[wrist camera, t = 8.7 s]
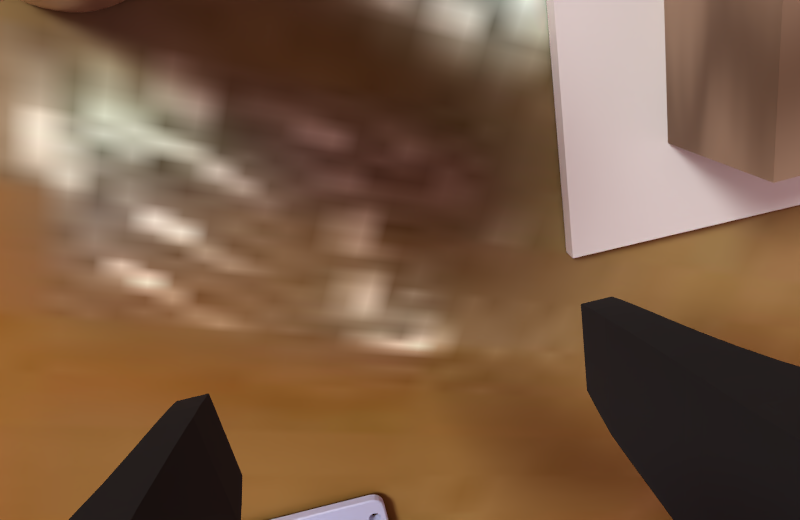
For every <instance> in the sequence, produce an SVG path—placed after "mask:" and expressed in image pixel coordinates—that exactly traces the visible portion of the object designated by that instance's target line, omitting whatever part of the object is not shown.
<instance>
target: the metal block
mask: <svg viewBox="0 0 800 520" xmlns="http://www.w3.org/2000/svg"><path fill="white" fill-rule="evenodd" d="M664 19H665V56H666V92H667V128H668V143H669V144H671V145H674V146H677V147H679V148H682V149H685V150H687V151H690V152H693V153H695V154H698V155H701V156H703V157H706V158H709V159H711V160H714V161H717V162H719V163H722V164H725V165H727V166H730V167H733V168H735V169H738V170H741V171H743V172H746V173H748V174H751V175H754V176H756V177H759V178H762V179H764V180H767V181H770V182H772V183H775V182H778V181H782V180H786V179H790V178H794V177H797V176H800V0H664Z"/></svg>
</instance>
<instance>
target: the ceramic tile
mask: <svg viewBox="0 0 800 520" xmlns="http://www.w3.org/2000/svg"><path fill="white" fill-rule="evenodd" d="M546 1H547V14H548V26H549V39H550V51H551V64H552V77H553V89H554V102H555V114H556V127H557V139H558V152H559V165H560V177H561V190H562V202H563V215H564V227H565V240H566V252H567V253H568V254H569V255H570V256H571V257H572V258H577V257H581V256H585V255H589V254H594V253H598V252H602V251H606V250H611V249H615V248H619V247H623V246H628V245H632V244H636V243H640V242H644V241H649V240H653V239H657V238H661V237H666V236H670V235H674V234H678V233H682V232H687V231H691V230H695V229H699V228H704V227H708V226H712V225H716V224H721V223H725V222H729V221H733V220H737V219H742V218H746V217H750V216H754V215H759V214H763V213H767V212H771V211H775V210H780V209H784V208H788V207H792V206H797V205H800V176H797V177H794V178H790V179H786V180H782V181H778V182H775V183H772V182H770V181H767V180H764V179H762V178H759V177H756V176H754V175H751V174H748V173H746V172H743V171H741V170H738V169H735V168H733V167H730V166H727V165H725V164H722V163H719V162H717V161H714V160H711V159H709V158H706V157H703V156H701V155H698V154H695V153H693V152H690V151H687V150H685V149H682V148H679V147H677V146H674V145H671V144H669V143H668V128H667V92H666V56H665V19H664V0H546Z"/></svg>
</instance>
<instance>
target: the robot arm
mask: <svg viewBox="0 0 800 520" xmlns="http://www.w3.org/2000/svg"><path fill="white" fill-rule="evenodd" d="M581 311H582V325H583V339H584V353H585V367H586V381H587V391H588V393H589V395H590V397H591V398H592V400H593V402H594V404H595V406H596V408H597V410H598V412H599V414H600V415H601V417H602V419H603V421H604V422H605V424H606V426H607V428H608V430H609V431H610V433H611V435H612V436H613V438H614V439H615V440H616V442H617V443H618V445H619V446H620V447H621V449H622V450H623V452H624V453H625V454H626V456H627V457H628V458H629V460H630V461H631V463H632V464H633V465H634V467H635V468H636V469H637V471H638V472H639V474H640V475H641V476H642V478H643V479H644V480H645V482H646V483H647V484H648V486H649V487H650V488H651V490H652V491H653V493H654V494H655V495H656V497H657V498H658V499H659V501H660V502H661V503H662V505H663V506H664V508H665V509H666V510H667V512H668V513H669V514H670V516H671V517H672V518H673V520H800V367H799V366H795V365H792V364H789V363H786V362H782V361H779V360H776V359H773V358H770V357H767V356H764V355H761V354H758V353H756V352H753V351H750V350H747V349H744V348H741V347H738V346H735V345H733V344H730V343H727V342H725V341H722V340H719V339H717V338H714V337H712V336H709V335H706V334H704V333H701V332H699V331H696V330H694V329H691V328H689V327H686V326H684V325H682V324H679V323H677V322H674V321H672V320H669V319H667V318H665V317H662V316H660V315H657V314H655V313H653V312H650V311H648V310H645V309H643V308H641V307H638V306H636V305H633V304H631V303H628V302H626V301H623V300H620V299H617V298H614V297H608V298H604V299H600V300H596V301H592V302H588V303H583V304H581ZM241 505H242V474H241V471H240V469H239V466H238V464H237V461H236V459H235V457H234V454H233V452H232V449H231V447H230V444H229V442H228V439H227V437H226V434H225V432H224V430H223V427H222V425H221V422H220V420H219V417H218V415H217V412H216V410H215V407H214V405H213V403H212V400H211V398H210V395H209V394H205V395H201V396H197V397H192V398H188V399H184V400H180V401H176V402H175V403H174V404H173V405H172V406H171V407H170V408H169V409H168V410H167V412H166V413H165V414H164V415H163V416H162V417H161V418H160V419H159V420H158V422H157V423H156V424H155V425H154V426H153V427H152V428H151V429H150V431H149V432H148V433H147V434H146V435H145V436H144V438H143V439H142V440H141V441H140V442H139V443H138V444H137V446H136V447H135V448H134V449H133V450H132V451H131V452H130V454H129V455H128V456H127V457H126V458H125V459H124V460H123V462H122V463H121V464H120V465H119V466H118V467H117V468H116V469H115V471H114V472H113V473H112V474H111V475H110V476H109V477H108V479H107V480H106V481H105V482H104V483H103V484H102V485H101V486H100V487H99V488H98V489H97V490H96V491H95V493H94V494H93V495H92V496H91V497H90V498H89V499H88V500H87V501H86V502H85V503H84V504H83V505H82V506H81V507H80V508H79V509H78V510H77V511H76V512H75V514H74V515H73V516H72V517H71V518H70V519H69V520H241ZM375 513H377V515H372V514H375ZM271 520H389V519H388V516H387V512H386V508H385V505H384V501H383V499H382V497H380V496H379V495H375V494H373V495H367V496H363V497H359V498H355V499H351V500H347V501H343V502H339V503H335V504H331V505H327V506H323V507H319V508H315V509H311V510H307V511H303V512H299V513H295V514H291V515H287V516H283V517H279V518H275V519H271Z"/></svg>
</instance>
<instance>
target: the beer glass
mask: <svg viewBox="0 0 800 520" xmlns="http://www.w3.org/2000/svg"><path fill="white" fill-rule="evenodd" d="M2 1H4V0H0V2H2ZM20 1H23V2H26V3H29V4H31V5H34V6H37V7H41V8H45V9H49V10H54V11H61V12H90V11H96V10H101V9H105V8H108V7H111V6H114V5H116V4H118V3H120V2H122V1H124V0H20Z"/></svg>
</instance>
